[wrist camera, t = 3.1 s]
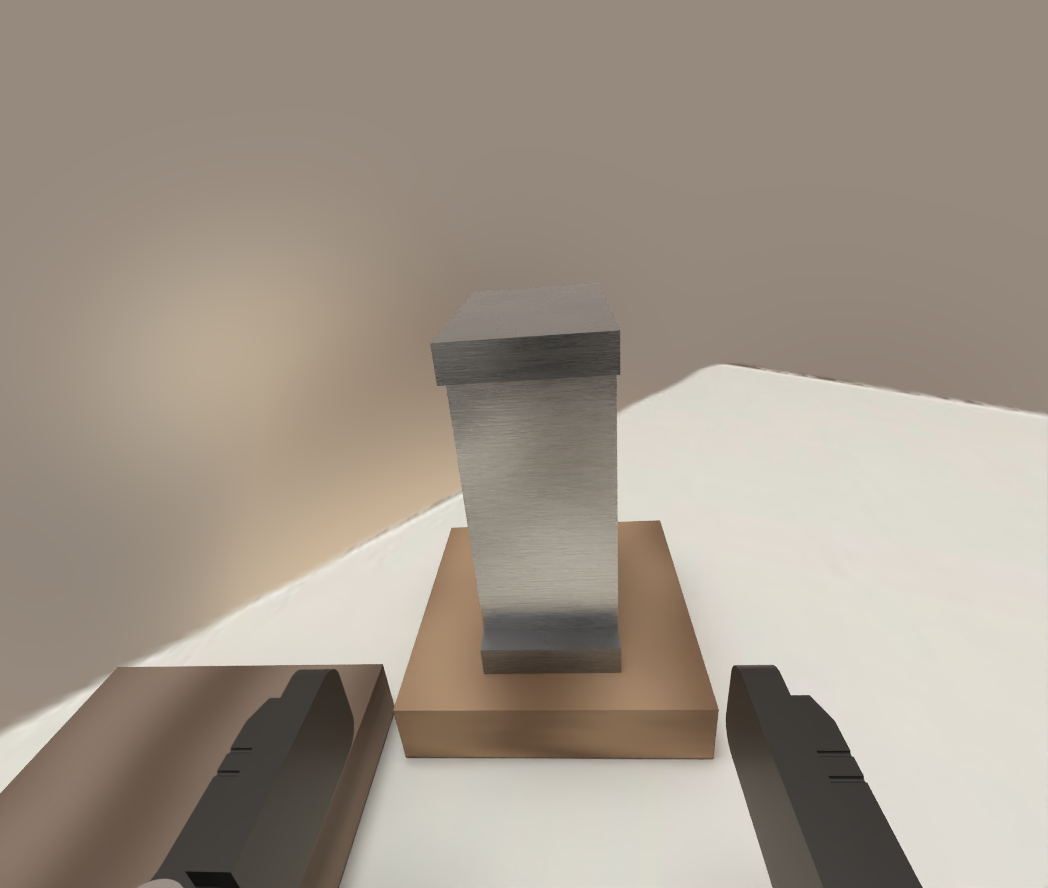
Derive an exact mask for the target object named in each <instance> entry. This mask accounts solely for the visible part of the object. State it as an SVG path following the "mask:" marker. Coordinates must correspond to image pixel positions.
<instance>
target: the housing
mask: <svg viewBox="0 0 1048 888" xmlns="http://www.w3.org/2000/svg"><path fill="white" fill-rule="evenodd" d="M430 345H431V351H432V357H433V363H434V370H435V375H436V381H437V386H444V385H446V389H447V395H448V401H449V408H450V415H451V421H452V427H453V434H454V440H455V447H456V453H457V459H458V465H459V473H460V478H461V486H462V492H463V499H464V505H465V511H466V518H467V524H468V531H469V537H470V544H471V550H472V557H473V563H474V570H475V576H476V582H477V589H478V595H479V602H480V608H481V615H482V621H483V628H484V631H483V637H482V642H481V648H480V652H481V659H482V665H483V671H484V674H547V673H621V643H620V636H619V629H618V517H617V375H620V329H619V327H618V325H617V323H616V321H615V318H614V316H613V314H612V311H611V309H610V308H609V305H608V303H607V301H606V298H605V296H604V294H603V292H602V290H601V287H600V285H599V283H587V284H574V285H561V286H548V287H535V288H522V289H509V290H497V291H483V292H474V293H473V294H472V295H471V296H470V297H469V299H468V300H467V301H466V302H465V303H464V304H463V306H462V307H461V308H460V309H459V310H458V311H457V313H456V314H455V315H454V316H453V317H452V319H451V320H450V321H449V322H448V323H447V324H446V325H445V327H444V328H443V329H442V330H441V332H439V334H438V335H437V336H436V337H435V338H434V339H433V341H432V342H431V343H430Z"/></svg>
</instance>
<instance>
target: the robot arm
mask: <svg viewBox="0 0 1048 888" xmlns="http://www.w3.org/2000/svg"><path fill="white" fill-rule="evenodd" d="M726 730H727V737H728V743H729V747H730V751H731V755H732V758H733V761H734V764H735V768H736V771H737V774H738V777H739V780H740V784H741V787H742V790H743V793H744V797H745V800H746V803H747V806H748V809H749V813H750V816H751V819H752V822H753V826H754V829H755V832H756V835H757V838H758V842H759V845H760V848H761V851H762V854H763V858H764V861H765V864H766V867H767V871H768V874H769V877H770V880H771V883H772V887H773V888H923V887H922V886H921V884H920V882H919V880H918V878H917V877H916V875H915V873H914V871H913V869H912V867H911V865H910V863H909V861H908V859H907V858H906V856H905V854H904V852H903V850H902V848H901V846H900V844H899V842H898V840H897V839H896V837H895V835H894V833H893V831H892V829H891V827H890V825H889V823H888V821H887V819H886V818H885V816H884V814H883V812H882V810H881V808H880V806H879V804H878V802H877V800H876V799H875V797H874V795H873V793H872V791H871V789H870V787H869V785H868V783H865V781H864V776H863V774H862V772H861V770H860V768H859V766H858V764H857V762H856V761H855V759H854V757H852V756H851V753H850V749H849V747H848V745H847V743H846V742H845V740H844V738H843V736H842V734H841V732H840V730H839V728H838V726H837V724H836V723H835V721H834V720H833V719H832V718H831V717H830V716H829V715H828V714H827V713H826V712H825V711H824V710H823V709H822V707H821V706H820V705H819V704H818V703H817V702H816V701H815V700H814V699H813V698H812V697H811V696H810V695H790V693H789V691H788V688H787V686H786V684H785V682H784V680H783V678H782V676H781V674H780V672H779V670H778V669H777V667H776V666H774V665H735V666H733V668H732V671H731V679H730V687H729V695H728V703H727V712H726ZM353 736H354V718H353V714H352V711H351V708H350V705H349V702H348V699H347V696H346V693H345V690H344V687H343V684H342V681H341V678H340V675H339V673H338V671H337V670H336V669H300V670H298V671H296V672H295V673H294V674H293V676H292V677H291V679H290V681H289V682H288V684H287V686H286V688H285V690H284V692H283V693H282V695H281V697H280V698H269V699H268V700H267V701H266V702H265V703H264V704H263V705H262V706H261V707H260V708H259V709H258V710H257V711H256V712H255V713H254V714H253V715H252V716H251V717H250V718H249V719H248V720H247V721H246V722H245V724H244V726H243V727H242V729H241V731H240V732H239V734H238V736H237V737H236V739H235V741H234V743H233V744H232V746H231V750H230V753H227V754H226V756H225V758H224V760H223V761H222V763H221V765H220V766H219V768H218V770H217V775H216V776H214V777H213V778H212V780H211V782H210V783H209V785H208V787H207V788H206V790H205V792H204V793H203V795H202V797H201V799H200V800H199V802H198V804H197V805H196V807H195V809H194V810H193V812H192V814H191V816H190V817H189V819H188V821H187V822H186V824H185V826H184V827H183V829H182V831H181V832H180V834H179V836H178V838H177V839H176V841H175V843H174V844H173V846H172V848H171V849H170V851H169V853H168V855H167V856H166V858H165V860H164V861H163V863H162V865H161V866H160V868H159V869H158V871H157V872H156V874H155V875H154V876H153V877H152V879H151V880H150V881H149V882H147V883H145V884H142V885H141V886H139V887H137V888H299V887H300V884H301V882H302V879H303V876H304V873H305V871H306V868H307V865H308V863H309V860H310V857H311V855H312V852H313V849H314V847H315V844H316V841H317V838H318V836H319V833H320V830H321V828H322V825H323V822H324V820H325V817H326V814H327V812H328V809H329V806H330V803H331V801H332V798H333V795H334V793H335V790H336V787H337V785H338V782H339V779H340V777H341V774H342V771H343V768H344V766H345V763H346V760H347V758H348V755H349V752H350V749H351V746H352V742H353Z"/></svg>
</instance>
